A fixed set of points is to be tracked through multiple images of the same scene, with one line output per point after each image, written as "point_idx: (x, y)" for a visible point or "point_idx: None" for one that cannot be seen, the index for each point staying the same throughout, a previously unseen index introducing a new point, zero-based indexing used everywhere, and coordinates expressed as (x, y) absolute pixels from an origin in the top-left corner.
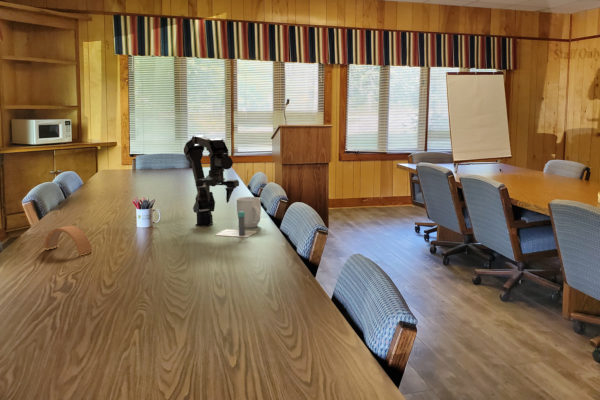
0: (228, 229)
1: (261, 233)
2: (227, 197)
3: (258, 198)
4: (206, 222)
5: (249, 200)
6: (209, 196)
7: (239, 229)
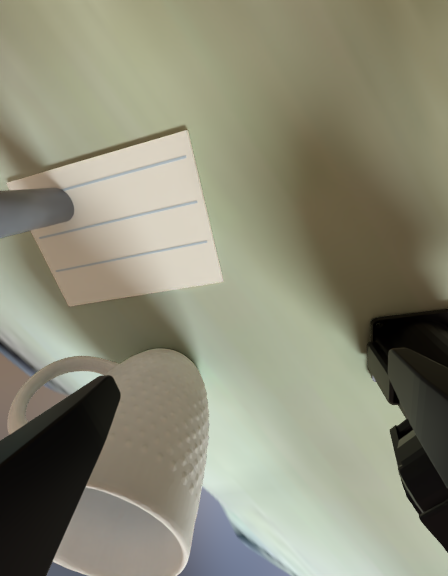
0: (205, 284)
1: (29, 284)
2: (28, 428)
3: (70, 558)
4: (393, 338)
5: (152, 544)
6: (440, 465)
7: (29, 189)
